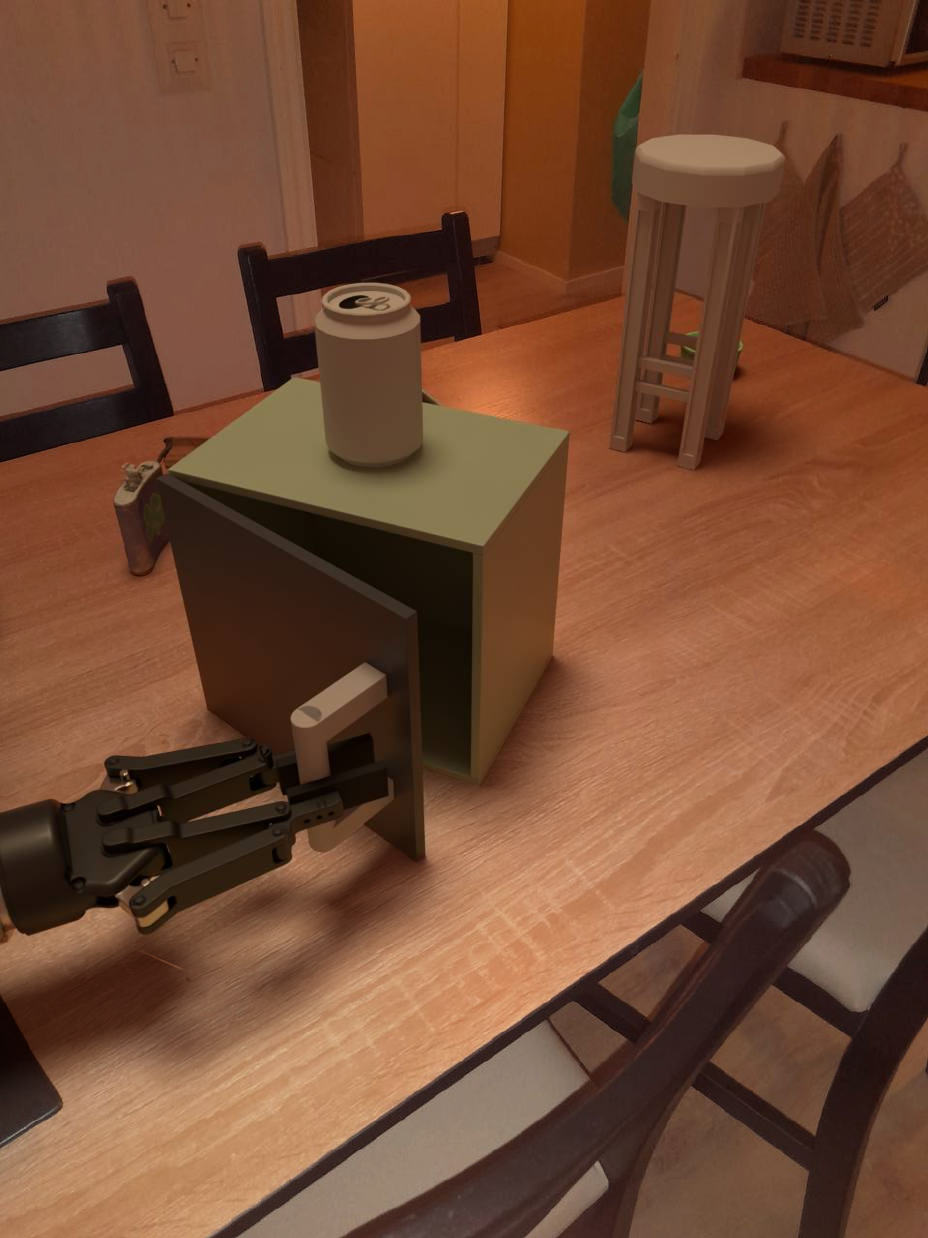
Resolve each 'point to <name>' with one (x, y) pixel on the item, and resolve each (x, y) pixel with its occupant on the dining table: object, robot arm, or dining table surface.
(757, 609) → the dining table surface
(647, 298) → the stool
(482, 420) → the olive green cabinet
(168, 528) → the cabinet door
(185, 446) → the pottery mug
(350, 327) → the can
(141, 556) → the flask
